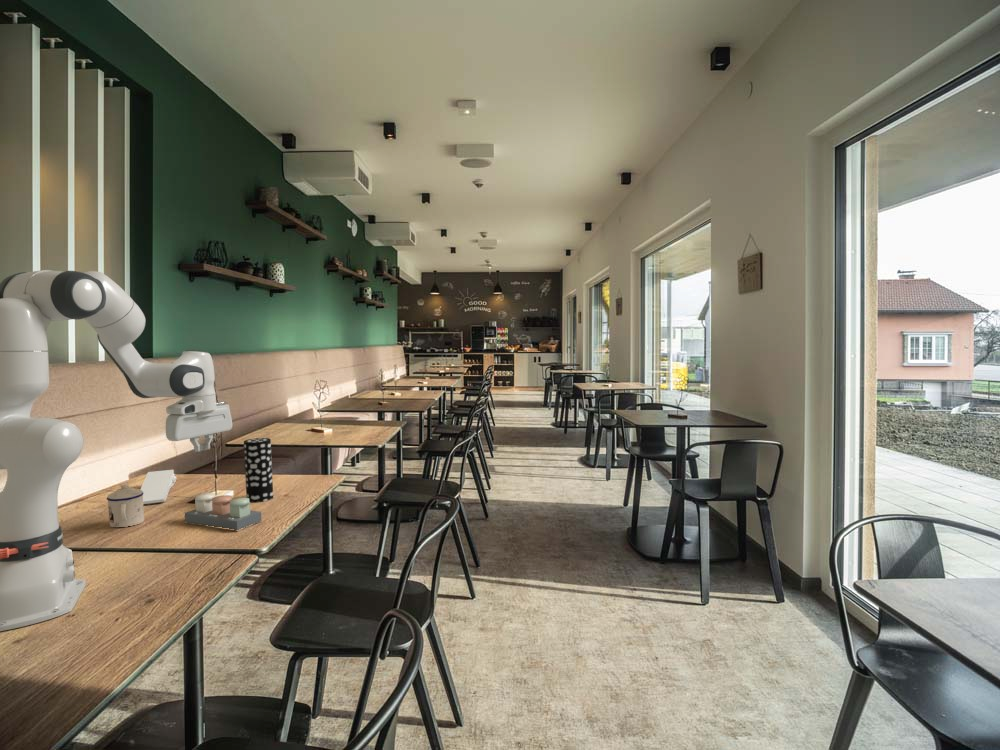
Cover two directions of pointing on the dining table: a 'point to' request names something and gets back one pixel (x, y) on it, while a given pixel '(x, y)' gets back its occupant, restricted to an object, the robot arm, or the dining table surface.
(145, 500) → the wall bracket
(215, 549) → the dining table surface
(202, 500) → the button one dot
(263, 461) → the spotted tube
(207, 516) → the button panel
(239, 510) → the button two dots
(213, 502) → the pink dome knob
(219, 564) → the dining table surface
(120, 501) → the teacup with lid
